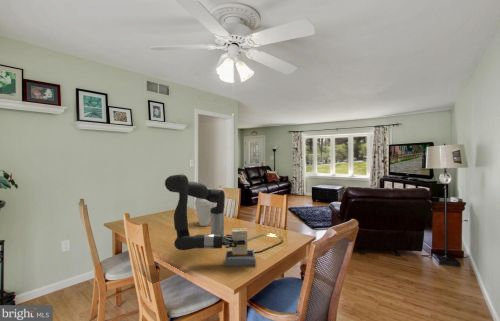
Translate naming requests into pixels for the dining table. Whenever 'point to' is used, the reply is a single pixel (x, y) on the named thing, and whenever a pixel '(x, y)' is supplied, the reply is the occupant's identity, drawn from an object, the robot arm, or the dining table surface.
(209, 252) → the dining table surface
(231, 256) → the organiser tray
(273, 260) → the dining table surface
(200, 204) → the vase
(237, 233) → the supplement box
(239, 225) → the dining table surface
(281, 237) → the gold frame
